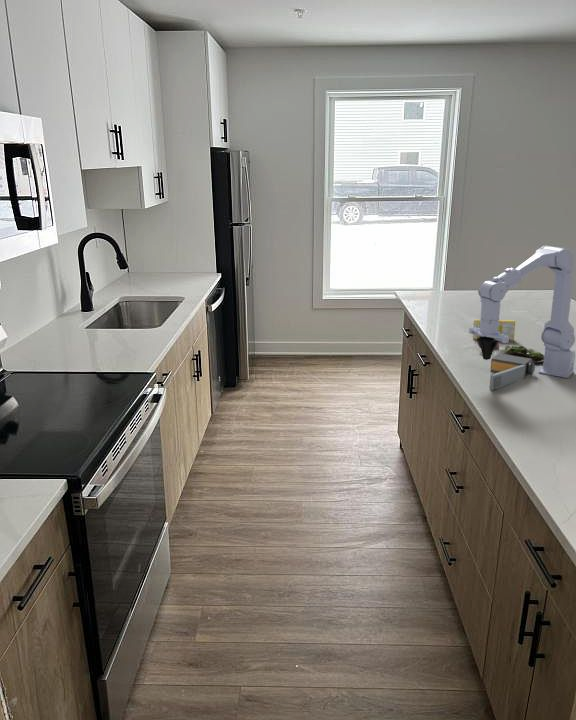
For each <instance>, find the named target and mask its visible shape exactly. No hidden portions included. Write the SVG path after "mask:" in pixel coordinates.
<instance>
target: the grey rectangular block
mask: <svg viewBox="0 0 576 720" xmlns="http://www.w3.org/2000/svg"><path fill="white" fill-rule="evenodd" d="M490 360H491V362H490V373H493V372H494V373H493V374H495V373H498V372H501V371H504V370H508V369H511V368H514V367H517V366H520V365H523V364H525V365H526V372H525V378H527V376H528V375H533V374H534V373H535V371H536V365H535V364H534V363H532V359H530V358H524V357H518V356H512V355H506V354H500V353H499V354H497V353H496V355H494V356H493V357H491V358H490Z"/></svg>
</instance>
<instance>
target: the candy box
mask: <svg viewBox="0 0 576 720" xmlns="http://www.w3.org/2000/svg"><path fill="white" fill-rule="evenodd" d="M473 327H476V328H480V319H473ZM515 330H516V320H507V319H506V320H505V319H504V320H501V319H499V327H498V332H500V333H502V334H504V335H506V336H509V340H510V341H511V342H514V341H515ZM477 338H480V336H478V335H476V334H472V339H473V340H477ZM510 341H509V342H510Z"/></svg>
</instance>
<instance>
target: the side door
mask: <svg viewBox="0 0 576 720" xmlns="http://www.w3.org/2000/svg"><path fill="white" fill-rule="evenodd" d="M525 372H526V365H525V364H523V365H520V366H517V367H514V368H511V369H508V370H504V371H501V372H498V373H492V374H490V376H489V387H488V388H489V390H491V391H494V390H496V389H499V388H502V387H506V386H509V385H511V384H514V383H517V382H520V381H522V380H525V379H526V377H525Z"/></svg>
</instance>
